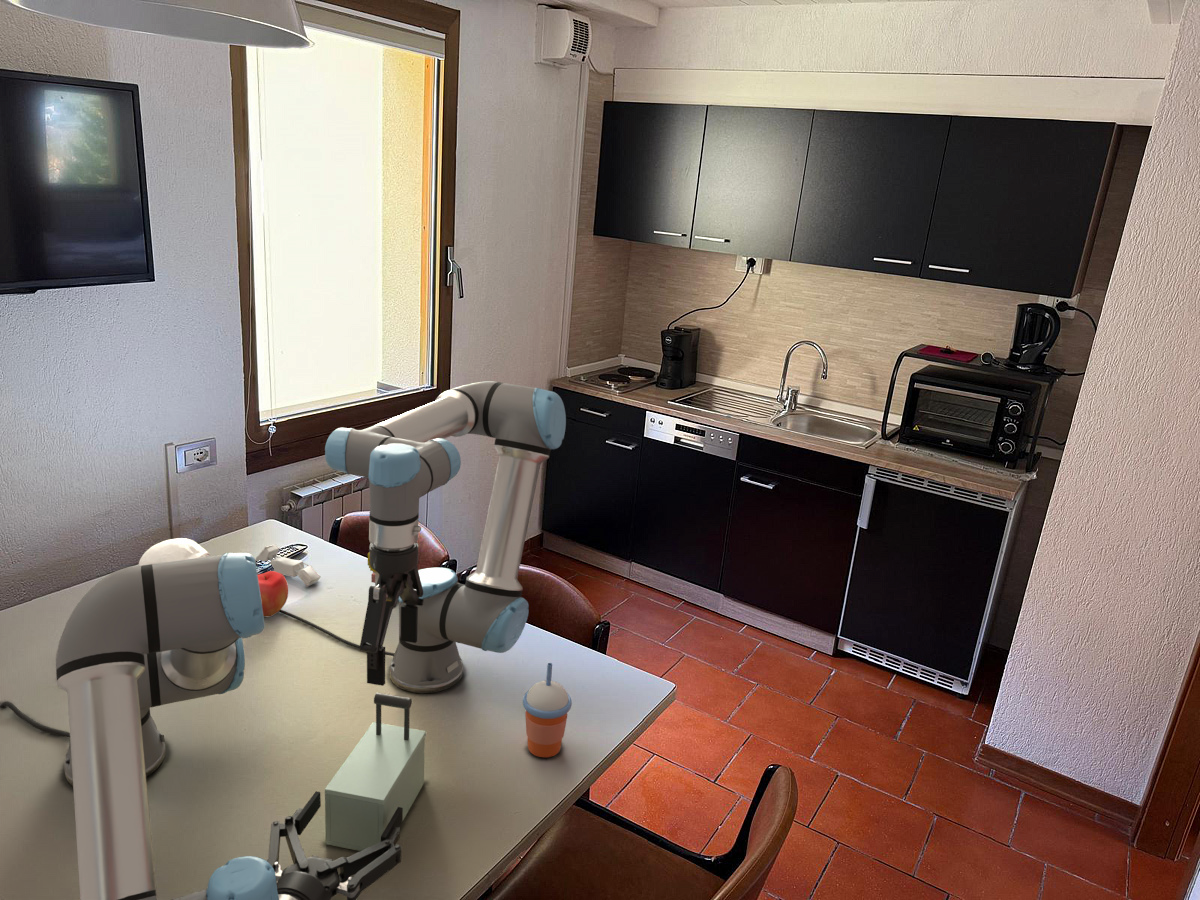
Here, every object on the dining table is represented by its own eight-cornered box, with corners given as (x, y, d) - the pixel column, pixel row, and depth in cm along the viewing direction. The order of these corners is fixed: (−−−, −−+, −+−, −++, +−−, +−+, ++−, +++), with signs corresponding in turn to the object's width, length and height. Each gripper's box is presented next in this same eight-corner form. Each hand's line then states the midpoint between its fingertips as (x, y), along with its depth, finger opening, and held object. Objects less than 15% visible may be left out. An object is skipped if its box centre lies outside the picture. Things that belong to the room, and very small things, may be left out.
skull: (204, 625, 194) (201, 560, 189) (125, 605, 199) (121, 542, 195) (243, 602, 206) (242, 541, 202) (168, 584, 212) (165, 524, 207)
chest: (372, 773, 151) (372, 727, 148) (423, 783, 150) (424, 737, 147) (325, 844, 135) (324, 793, 132) (383, 855, 133) (383, 805, 130)
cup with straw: (561, 767, 156) (568, 681, 151) (513, 757, 158) (518, 672, 153) (573, 737, 165) (579, 655, 160) (527, 729, 167) (532, 647, 161)
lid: (373, 725, 149) (373, 681, 146) (426, 734, 147) (426, 691, 145) (324, 793, 132) (323, 745, 129) (383, 804, 130) (383, 756, 128)
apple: (273, 600, 207) (272, 562, 204) (297, 613, 202) (296, 575, 199) (237, 614, 200) (234, 575, 197) (261, 628, 194) (259, 588, 191)
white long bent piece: (253, 565, 223) (254, 542, 221) (265, 560, 226) (266, 537, 224) (309, 593, 215) (310, 569, 213) (320, 588, 218) (321, 564, 216)
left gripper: (204, 917, 116) (285, 811, 136) (378, 955, 113) (434, 841, 133) (201, 873, 114) (284, 772, 134) (378, 910, 111) (435, 801, 131)
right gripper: (384, 579, 122) (384, 707, 128) (443, 517, 146) (441, 628, 152) (335, 571, 123) (337, 699, 129) (402, 511, 147) (401, 621, 153)
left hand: (359, 806), depth 134 cm, fingers open, 13 cm apart
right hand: (393, 661), depth 141 cm, fingers open, 13 cm apart
